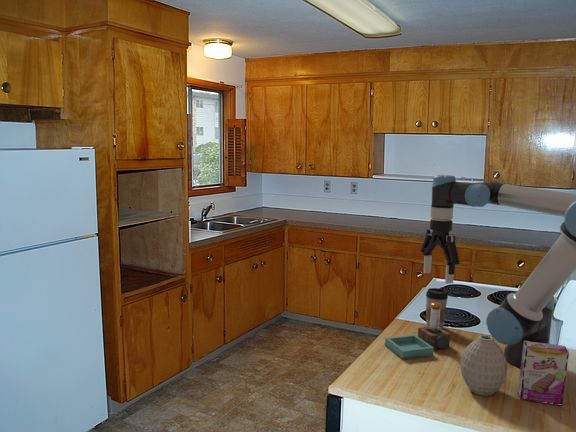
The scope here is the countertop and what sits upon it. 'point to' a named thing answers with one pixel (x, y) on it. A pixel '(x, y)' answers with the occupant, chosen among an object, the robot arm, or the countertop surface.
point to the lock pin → (434, 317)
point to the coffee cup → (436, 296)
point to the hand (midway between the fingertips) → (437, 277)
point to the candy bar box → (543, 372)
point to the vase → (484, 366)
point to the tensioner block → (434, 337)
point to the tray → (409, 347)
